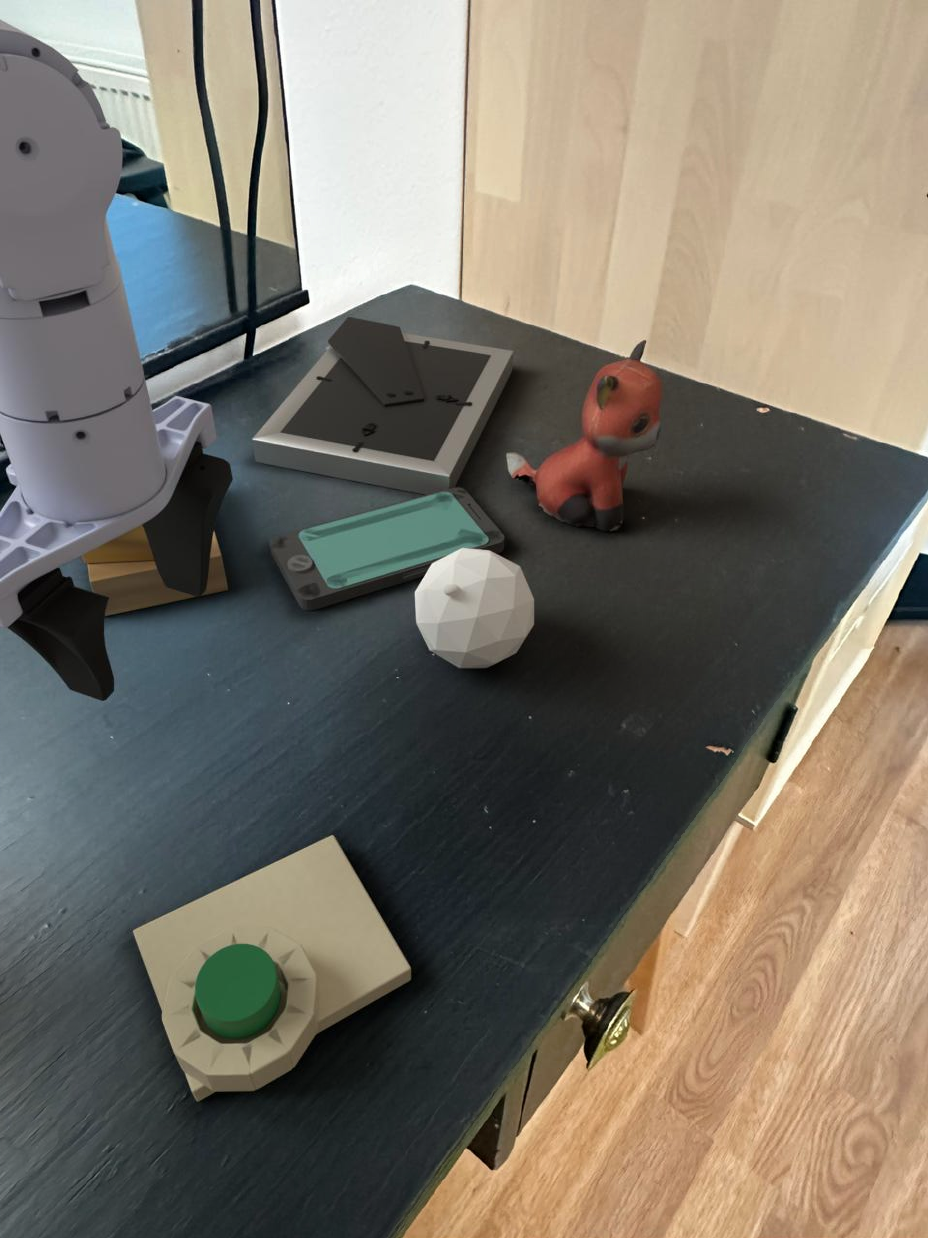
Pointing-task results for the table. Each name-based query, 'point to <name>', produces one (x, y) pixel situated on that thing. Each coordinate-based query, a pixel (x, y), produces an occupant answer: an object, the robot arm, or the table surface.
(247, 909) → the box
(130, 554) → the thumb turn
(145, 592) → the brown flat block
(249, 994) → the release button
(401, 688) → the table surface
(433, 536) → the smartphone
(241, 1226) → the table surface
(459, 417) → the picture frame
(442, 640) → the ornament
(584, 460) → the stuffed fox
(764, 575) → the table surface
